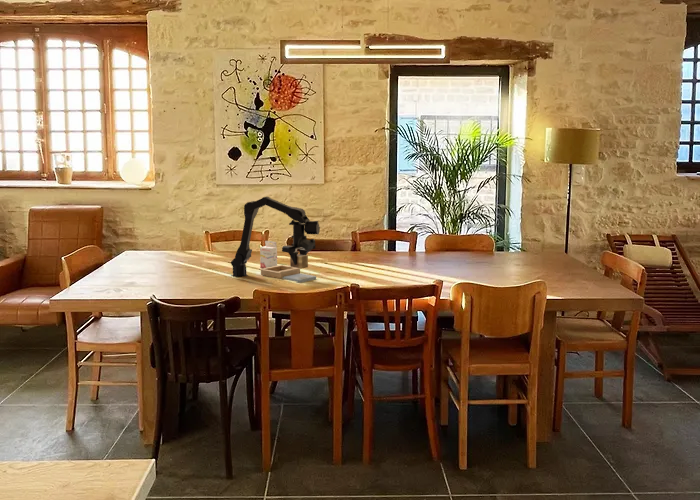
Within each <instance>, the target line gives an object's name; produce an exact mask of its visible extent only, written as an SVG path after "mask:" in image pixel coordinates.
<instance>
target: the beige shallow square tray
mask: <svg viewBox="0 0 700 500" xmlns="http://www.w3.org/2000/svg"><path fill="white" fill-rule="evenodd" d="M259 270H260V276H261V275H262V276H266V277H272V278H277V279H283V277H284V276H289V275H294V274H298V273H301V269H300V268H295V267H290V265H285V264H279V265H278V264H277V266H273V267H267V268H259Z"/></svg>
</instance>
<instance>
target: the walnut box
mask: <svg viewBox="0 0 700 500" xmlns="http://www.w3.org/2000/svg"><path fill="white" fill-rule="evenodd" d="M289 257H290V258H289V259H290V261H289V262H290V265H289V266H290V267H295V268H300V270H302V269H306V268H307V269H308V267H309V255H300V253H298V254H297V265H295V264H294V262H293V260H292V258H291V256H290V255H289Z"/></svg>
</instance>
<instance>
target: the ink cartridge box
mask: <svg viewBox="0 0 700 500" xmlns="http://www.w3.org/2000/svg"><path fill="white" fill-rule="evenodd" d="M264 243H265V245H264V246H260V247H259V258H260V259H259V262H260V263H259V265H260V266H259V267H260V268H259V269H262V268H267V267H273V266H278V245H277V242H276V241H272V240H265V241H264Z"/></svg>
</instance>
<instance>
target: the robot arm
mask: <svg viewBox="0 0 700 500" xmlns="http://www.w3.org/2000/svg"><path fill="white" fill-rule="evenodd" d="M264 206H265V207H266V206H267V207H270V208H272V209H274V210H276V211H279V212H281V213H283V214H285V215H286V216H288V217H289V218H291V219H292V220H291V221H290V222H289V223H288V225H289V226H292V232H293V233H292V235H291V238H292V241H293V242H292V243H291V245H283V246H282V247H281V252H282V253H288V254H289V257H290V256H291V258H292V260H293V262H294V264H295V265H297V254H300V255H307V254H308V253H309V252H311V251H312V250H314V249H315V250H316V240H315V239H314V238H312V239H307V235H319V234H320V232H321V231H320V229H321V226H320V224H319V220H310V219H309V217H308V215H307V214H306V211H305V209H303V208H300V207H295V206H290V205H287V204H285V203H283V202H281V201H278V200H276V199H273V198H271V197H269V196H263V197H262V198H259V199H257V200H251V201H248V202H246V203H244V206H243V214H244V222H243V223H244V224H243V228H242V232H241V233H242V234H241V238H240V244H239V246H238V248H237V250H236V253H235V255H234V258H233V259H231V261H230V264H231V266H232V274H231V275H230V276H231V277H235V278H241V277H243V278H244V277H247V276H248V274H247V265H246V264H247V262H248V261H249V259H250V258H251V257H252V252H253V248H251V247H250V242H251V238H252V232H253V231H252V230H253V228H254V227H253V225H254V221H255V218H256V217H257V214H258V212H259V210H260V208H263V207H264ZM305 233H306V234H307V235H305Z"/></svg>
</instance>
